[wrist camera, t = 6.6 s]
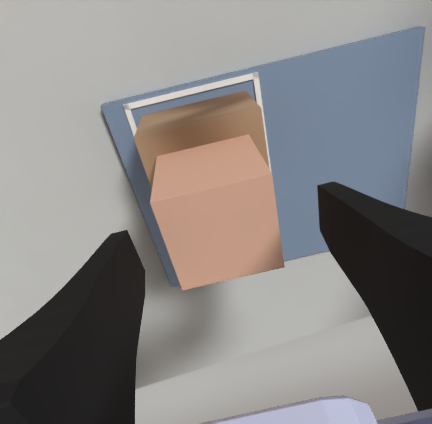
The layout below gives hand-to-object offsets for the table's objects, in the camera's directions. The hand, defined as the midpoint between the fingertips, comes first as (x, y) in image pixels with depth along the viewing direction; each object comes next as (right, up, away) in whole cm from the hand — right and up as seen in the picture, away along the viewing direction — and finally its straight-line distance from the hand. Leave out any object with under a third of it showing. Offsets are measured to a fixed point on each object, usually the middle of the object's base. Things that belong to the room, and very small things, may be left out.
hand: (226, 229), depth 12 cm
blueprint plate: (+3, +3, +10) cm, 11 cm away
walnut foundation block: (-1, +4, +8) cm, 9 cm away
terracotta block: (-1, +2, +4) cm, 5 cm away
